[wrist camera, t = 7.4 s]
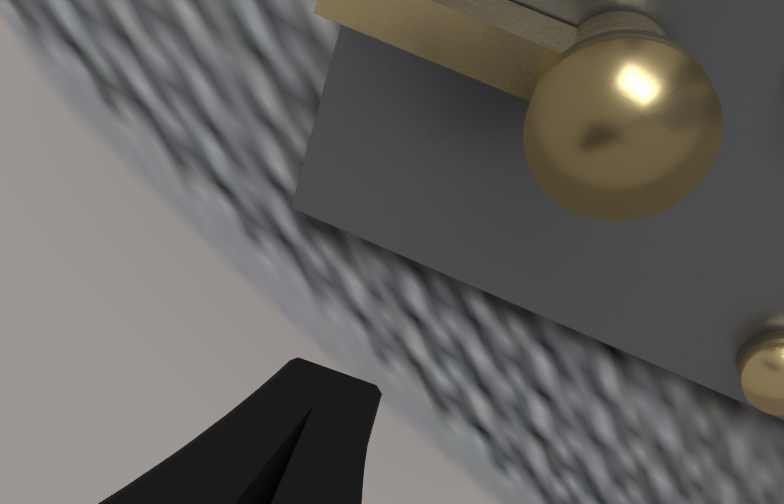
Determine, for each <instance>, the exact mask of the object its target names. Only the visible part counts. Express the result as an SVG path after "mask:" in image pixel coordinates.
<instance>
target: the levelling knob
mask: <svg viewBox="0 0 784 504" xmlns="http://www.w3.org/2000/svg"><path fill="white" fill-rule="evenodd" d="M314 13H315V14H318V15H320V16H322V17H325V18H327V19H330V20H332V21H335V22H337V23H339V24H342V25H344V26H347V27H349V28H352V29H354V30H357V31H359V32H361V33H364V34H366V35H369V36H371V37H374V38H376V39H378V40H381V41H383V42H386V43H388V44H391V45H393V46H396V47H398V48H400V49H403V50H405V51H408V52H410V53H413V54H415V55H417V56H420V57H422V58H425V59H427V60H430V61H432V62H435V63H437V64H439V65H442V66H444V67H447V68H449V69H452V70H454V71H456V72H459V73H461V74H464V75H466V76H469V77H471V78H473V79H476V80H478V81H481V82H483V83H486V84H488V85H491V86H493V87H495V88H498V89H500V90H503V91H505V92H508V93H510V94H512V95H515V96H517V97H520V98H522V99H525V100H527V101H530V103H529V106H528V110H527V113H526V118H525V122H524V131H523V143H524V151H525V156H526V159H527V162H528V165H529V168H530V170H531V172H532V174H533V176H534V178H535V180H536V181H537V182H538V184H539V185H540V187H541V188H542V189H543V190H544V191H545V192H546V194H547V195H548V196H549V197H551V198H552V199H553V200H554V201H555V202H556V203H558V204H559V205H561V206H563V207H564V208H566V209H567V210H569V211H572V212H574V213H576V214H578V215H581V216H584V217H587V218H591V219H595V220H600V221H609V222H624V221H633V220H639V219H643V218H647V217H650V216H653V215H656V214H659V213H661V212H663V211H665V210H667V209H669V208H671V207H673V206H674V205H676V204H678V203H679V202H681V201H682V200H683V199H685V198H686V197H687V196H688V195H690V194H691V193H692V192H693V191H694V190H695V189H696V188H697V187H698V186H699V185H700V184H701V182H702V181H703V180H704V178H705V177H706V176H707V174H708V173H709V171H710V169H711V168H712V166H713V164H714V162H715V160H716V157H717V155H718V152H719V149H720V145H721V141H722V135H723V113H722V108H721V104H720V100H719V97H718V95H717V92H716V89H715V88H714V86H713V84H712V82H711V80H710V78H709V77H708V75H707V73H706V71H705V70H704V68H703V66H702V65H701V63H700V62H699V61H698V60H697V59H696V57H695V56H694V55H693V54H692V53H691V52H690V51H688V50H687V49H686V48H685V47H684V46H682V45H681V44H679V43H678V42H676V41H674V40H672V39H670V38H668V36H667V35H666V33H665V32H664V31H663V29H662V28H661V27H660V26H659V25H658V24H657V23H655V22H654V21H652V20H651V19H650V18H648V17H646V16H643V15H641V14H638V13H635V12H629V11H612V12H607V13H603V14H600V15H597V16H594V17H592V18H590V19H588V20H587V21H585V22H584V23H582V24H581V25H580V26H578V27H577V28H575V27H573V26H570V25H568V24H565V23H563V22H560V21H558V20H555V19H553V18H550V17H548V16H545V15H543V14H540V13H538V12H535V11H533V10H530V9H528V8H525V7H523V6H520V5H518V4H515V3H513V2H510V1H508V0H317V3H316V7H315V11H314Z"/></svg>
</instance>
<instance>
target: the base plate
mask: <svg viewBox="0 0 784 504" xmlns="http://www.w3.org/2000/svg"><path fill="white" fill-rule="evenodd" d="M508 1H510V2H513V3H515V4H518V5H520V6H523V7H525V8H528V9H530V10H533V11H535V12H538V13H540V14H543V15H545V16H548V17H550V18H553V19H555V20H558V21H560V22H563V23H565V24H568V25H570V26H573V27H575V28H577V27H578V26H580V25H581V24H582V23H584V22H585V21H587V20H588V19H590V18H592V17H594V16H597V15H600V14H603V13H607V12H612V11H629V12H635V13H638V14H641V15H643V16H646V17H648V18H650V19H651V20H652V21H654V22H655V23H657V24H658V25H659V26H660V27H661V28H662V29H663V31H664V32H665V33H666V35H667V36H668V38H670V39H672V40H674V41H676V42H678V43H679V44H681V45H682V46H684V47H685V48H686V49H687V50H688V51H690V52H691V53H692V54H693V55H694V56H695V57H696V59H697V60H698V61H699V62H700V63H701V65H702V66H703V68H704V70H705V71H706V73H707V75H708V77H709V78H710V80H711V82H712V84H713V86H714V88H715V89H716V92H717V95H718V97H719V100H720V104H721V108H722V113H723V135H722V141H721V145H720V149H719V152H718V155H717V157H716V160H715V162H714V164H713V166H712V168H711V169H710V171H709V173H708V174H707V176H706V177H705V178H704V180H703V181H702V182H701V184H700V185H699V186H698V187H697V188H696V189H695V190H694V191H693V192H692V193H691V194H690V195H688V196H687V197H686V198H685V199H683V200H682V201H681V202H679V203H678V204H676V205H674V206H673V207H671V208H669V209H667V210H665V211H663V212H661V213H659V214H656V215H653V216H650V217H647V218H643V219H639V220H633V221H624V222H609V221H600V220H595V219H591V218H587V217H584V216H581V215H578V214H576V213H574V212H572V211H569V210H567V209H566V208H564V207H563V206H561V205H559V204H558V203H556V202H555V201H554V200H553V199H552V198H551V197H549V196H548V195H547V194H546V192H545V191H544V190H543V189H542V188H541V187H540V185H539V184H538V182H537V181H536V180H535V178H534V176H533V174H532V172H531V170H530V168H529V165H528V162H527V159H526V156H525V151H524V143H523V131H524V122H525V118H526V113H527V110H528V106H529V103H530V101H527V100H525V99H522V98H520V97H517V96H515V95H512V94H510V93H508V92H505V91H503V90H500V89H498V88H495V87H493V86H491V85H488V84H486V83H483V82H481V81H478V80H476V79H473V78H471V77H469V76H466V75H464V74H461V73H459V72H456V71H454V70H452V69H449V68H447V67H444V66H442V65H439V64H437V63H435V62H432V61H430V60H427V59H425V58H422V57H420V56H417V55H415V54H413V53H410V52H408V51H405V50H403V49H400V48H398V47H396V46H393V45H391V44H388V43H386V42H383V41H381V40H378V39H376V38H374V37H371V36H369V35H366V34H364V33H361V32H359V31H357V30H354V29H352V28H349V27H347V26H344V25H341V28H340V32H339V35H338V39H337V43H336V46H335V50H334V54H333V57H332V61H331V65H330V68H329V72H328V75H327V79H326V83H325V86H324V90H323V94H322V97H321V101H320V104H319V108H318V112H317V115H316V119H315V123H314V126H313V130H312V134H311V137H310V141H309V144H308V148H307V152H306V155H305V159H304V163H303V166H302V170H301V173H300V177H299V181H298V184H297V188H296V192H295V195H294V199H293V203H292V206H291V208H293V209H295V210H297V211H300V212H302V213H304V214H306V215H309V216H311V217H313V218H316V219H318V220H320V221H323V222H325V223H327V224H330V225H332V226H334V227H337V228H339V229H341V230H344V231H346V232H348V233H351V234H353V235H355V236H358V237H360V238H362V239H364V240H367V241H369V242H371V243H374V244H376V245H378V246H381V247H383V248H385V249H388V250H390V251H392V252H395V253H397V254H399V255H402V256H404V257H406V258H409V259H411V260H413V261H415V262H418V263H420V264H422V265H425V266H427V267H429V268H432V269H434V270H436V271H439V272H441V273H443V274H446V275H448V276H450V277H453V278H455V279H457V280H460V281H462V282H464V283H467V284H469V285H471V286H473V287H476V288H478V289H480V290H483V291H485V292H487V293H490V294H492V295H494V296H497V297H499V298H501V299H504V300H506V301H508V302H511V303H513V304H515V305H518V306H520V307H522V308H524V309H527V310H529V311H531V312H534V313H536V314H538V315H541V316H543V317H545V318H548V319H550V320H552V321H555V322H557V323H559V324H562V325H564V326H566V327H569V328H571V329H573V330H576V331H578V332H580V333H582V334H585V335H587V336H589V337H592V338H594V339H596V340H599V341H601V342H603V343H606V344H608V345H610V346H613V347H615V348H617V349H620V350H622V351H624V352H627V353H629V354H631V355H633V356H636V357H638V358H640V359H643V360H645V361H647V362H650V363H652V364H654V365H657V366H659V367H661V368H664V369H666V370H668V371H671V372H673V373H675V374H678V375H680V376H682V377H685V378H687V379H689V380H691V381H694V382H696V383H698V384H701V385H703V386H705V387H708V388H710V389H712V390H715V391H717V392H719V393H722V394H724V395H726V396H729V397H731V398H733V399H736V400H738V401H740V402H742V403H745V404H747V405H749V406H752V407H754V408H756V409H759V410H761V411H763V412H766V413H768V414H770V415H773V416H775V417H777V418H780V419H782V420H784V0H508Z"/></svg>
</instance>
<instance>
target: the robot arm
mask: <svg viewBox="0 0 784 504" xmlns="http://www.w3.org/2000/svg"><path fill="white" fill-rule="evenodd" d="M381 395H382V393H381V392H380V390H379V389H378V387H377V385H374V384H371V383H369V382H366V381H363V380H360V379H357V378H355V377H352V376H349V375H346V374H343V373H341V372H338V371H335V370H332V369H329V368H327V367H324V366H321V365H318V364H315V363H312V362H310V361H307V360H304V359H301V358H295V359H293V360H290V361H289V362H288V363H287V364H286V365H285V366H283V367H282V368H281V369H280V370H279V371H278V372H277V373H276V374H275V375H274V376H272V377H271V378H270V379H269V380H268V381H267V382H266V383H264V384H263V385H262V386H261V387H260V388H259V389H258V390H256V391H255V392H254V393H253V394H251V395H250V396H249V397H248V398H247V399H245V400H244V401H243V402H242V403H240V404H239V405H238V406H237V407H235V408H234V409H233V410H232V411H230V412H229V413H228V414H227V415H226V416H224V417H223V418H221V419H220V420H219V421H217V422H216V423H215V424H213V425H212V426H211V427H209V428H208V429H207V430H206V431H204V432H203V433H202V434H200V435H199V436H198V437H196V438H195V439H194V440H192V441H191V442H190V443H188V444H187V445H186V446H184V447H183V448H181V449H180V450H179V451H177V452H176V453H174V454H173V455H171V456H170V457H169V458H167V459H165V460H164V461H162V462H161V463H160V464H158V465H157V466H155V467H154V468H152V469H151V470H149V471H148V472H146V473H145V474H143V475H142V476H140V477H139V478H137V479H136V480H134V481H133V482H131V483H130V484H128V485H127V486H125V487H124V488H122V489H121V490H119V491H118V492H116V493H114V494H113V495H111V496H110V497H108V498H106V499H105V500H103V501H102V502H100V503H99V504H361V502H362V487H363V476H364V466H365V459H366V452H367V445H368V442H369V438H370V434H371V431H372V427H373V424H374V420H375V416H376V413H377V409H378V406H379V402H380V398H381Z"/></svg>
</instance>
